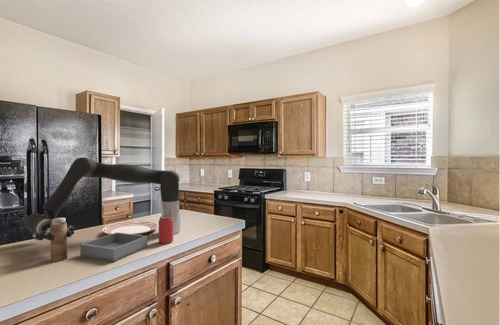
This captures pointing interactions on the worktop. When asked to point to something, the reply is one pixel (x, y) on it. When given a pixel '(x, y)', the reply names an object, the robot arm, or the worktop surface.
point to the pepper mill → (59, 239)
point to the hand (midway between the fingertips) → (61, 236)
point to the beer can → (165, 229)
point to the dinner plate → (130, 227)
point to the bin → (113, 246)
